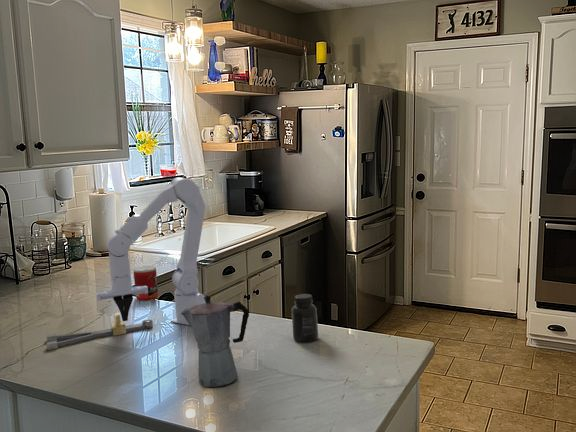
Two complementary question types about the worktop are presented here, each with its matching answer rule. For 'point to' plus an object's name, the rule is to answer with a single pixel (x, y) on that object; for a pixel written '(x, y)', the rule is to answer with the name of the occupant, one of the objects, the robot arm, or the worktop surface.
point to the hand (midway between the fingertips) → (125, 320)
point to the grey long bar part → (90, 335)
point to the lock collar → (118, 326)
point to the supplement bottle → (304, 319)
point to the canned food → (146, 282)
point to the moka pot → (215, 340)
